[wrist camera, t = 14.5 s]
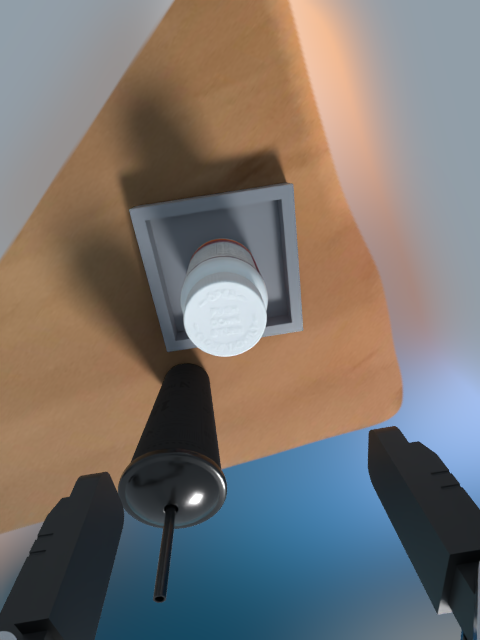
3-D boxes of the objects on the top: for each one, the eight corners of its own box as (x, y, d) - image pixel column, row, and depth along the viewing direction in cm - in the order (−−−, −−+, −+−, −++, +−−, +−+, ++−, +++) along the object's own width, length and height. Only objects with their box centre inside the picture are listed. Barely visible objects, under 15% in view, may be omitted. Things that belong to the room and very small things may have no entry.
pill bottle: (246, 307, 32) (260, 372, 22) (182, 294, 31) (166, 355, 21) (264, 245, 30) (289, 286, 20) (196, 228, 29) (185, 261, 19)
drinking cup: (237, 378, 36) (259, 588, 18) (193, 421, 38) (173, 649, 20) (181, 337, 34) (141, 534, 16) (137, 386, 36) (56, 610, 18)
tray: (170, 339, 34) (167, 352, 32) (135, 206, 28) (128, 209, 26) (297, 319, 34) (303, 330, 32) (286, 182, 28) (293, 183, 26)
